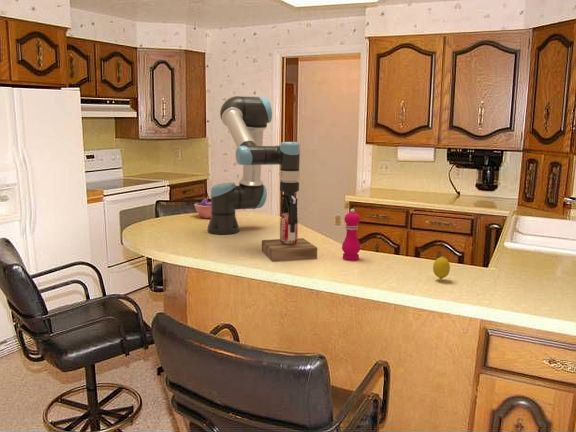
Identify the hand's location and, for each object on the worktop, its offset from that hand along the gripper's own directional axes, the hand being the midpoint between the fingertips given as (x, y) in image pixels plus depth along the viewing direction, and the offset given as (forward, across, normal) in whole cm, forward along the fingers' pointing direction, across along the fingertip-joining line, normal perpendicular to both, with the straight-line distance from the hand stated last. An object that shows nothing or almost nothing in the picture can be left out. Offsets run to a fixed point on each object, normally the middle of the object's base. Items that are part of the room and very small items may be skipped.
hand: (288, 238), depth 203 cm
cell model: (+7, -88, -18) cm, 90 cm away
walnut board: (+7, 0, 0) cm, 7 cm away
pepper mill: (+7, +12, +22) cm, 26 cm away
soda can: (+2, 0, 0) cm, 2 cm away
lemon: (+7, +45, +41) cm, 61 cm away
